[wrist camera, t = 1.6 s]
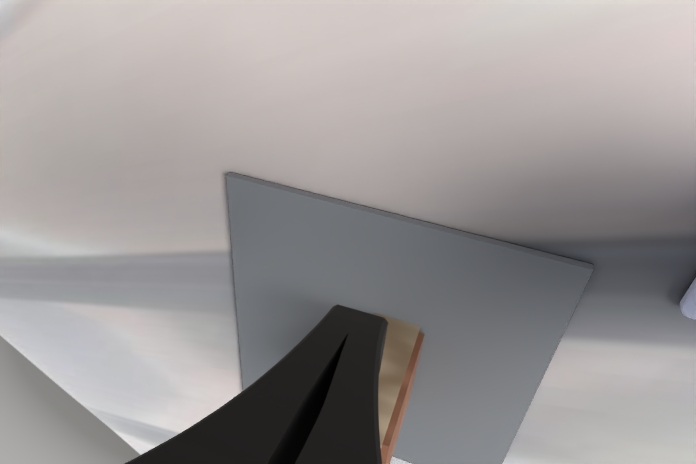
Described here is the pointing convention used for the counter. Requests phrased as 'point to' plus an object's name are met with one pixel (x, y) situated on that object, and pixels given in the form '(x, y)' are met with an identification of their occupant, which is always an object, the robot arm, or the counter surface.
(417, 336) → the brown wooden block
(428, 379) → the mat
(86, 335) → the counter surface
